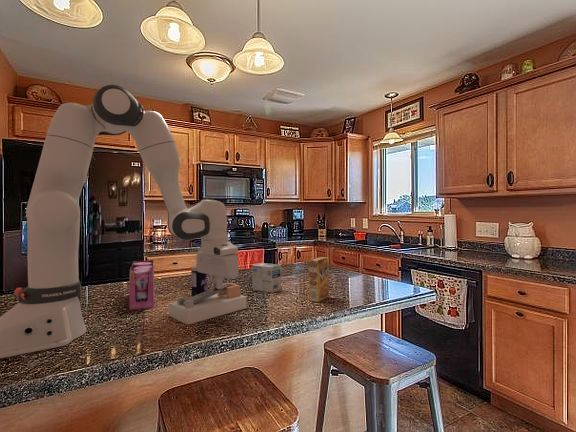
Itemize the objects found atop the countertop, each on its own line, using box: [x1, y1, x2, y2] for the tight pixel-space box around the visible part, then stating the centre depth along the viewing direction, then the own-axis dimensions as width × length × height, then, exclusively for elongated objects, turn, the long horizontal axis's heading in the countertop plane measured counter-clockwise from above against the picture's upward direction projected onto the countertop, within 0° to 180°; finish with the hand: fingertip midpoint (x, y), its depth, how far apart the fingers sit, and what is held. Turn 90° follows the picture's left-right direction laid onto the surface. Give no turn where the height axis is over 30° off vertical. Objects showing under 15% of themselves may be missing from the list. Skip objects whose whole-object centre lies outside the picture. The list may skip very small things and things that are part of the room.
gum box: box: [129, 259, 155, 311], centre depth 122 cm, size 24×8×14 cm, turn 22°
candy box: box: [308, 256, 330, 303], centre depth 123 cm, size 9×4×15 cm, turn 147°
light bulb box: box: [251, 262, 282, 294], centre depth 137 cm, size 11×7×11 cm, turn 58°
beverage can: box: [190, 265, 208, 297], centre depth 126 cm, size 6×6×12 cm
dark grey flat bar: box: [180, 283, 230, 306], centre depth 107 cm, size 16×4×1 cm, turn 136°
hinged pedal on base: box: [168, 282, 247, 325], centre depth 108 cm, size 22×12×8 cm, turn 136°
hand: (217, 288), depth 110 cm, fingers closed, pressing on dark grey flat bar
